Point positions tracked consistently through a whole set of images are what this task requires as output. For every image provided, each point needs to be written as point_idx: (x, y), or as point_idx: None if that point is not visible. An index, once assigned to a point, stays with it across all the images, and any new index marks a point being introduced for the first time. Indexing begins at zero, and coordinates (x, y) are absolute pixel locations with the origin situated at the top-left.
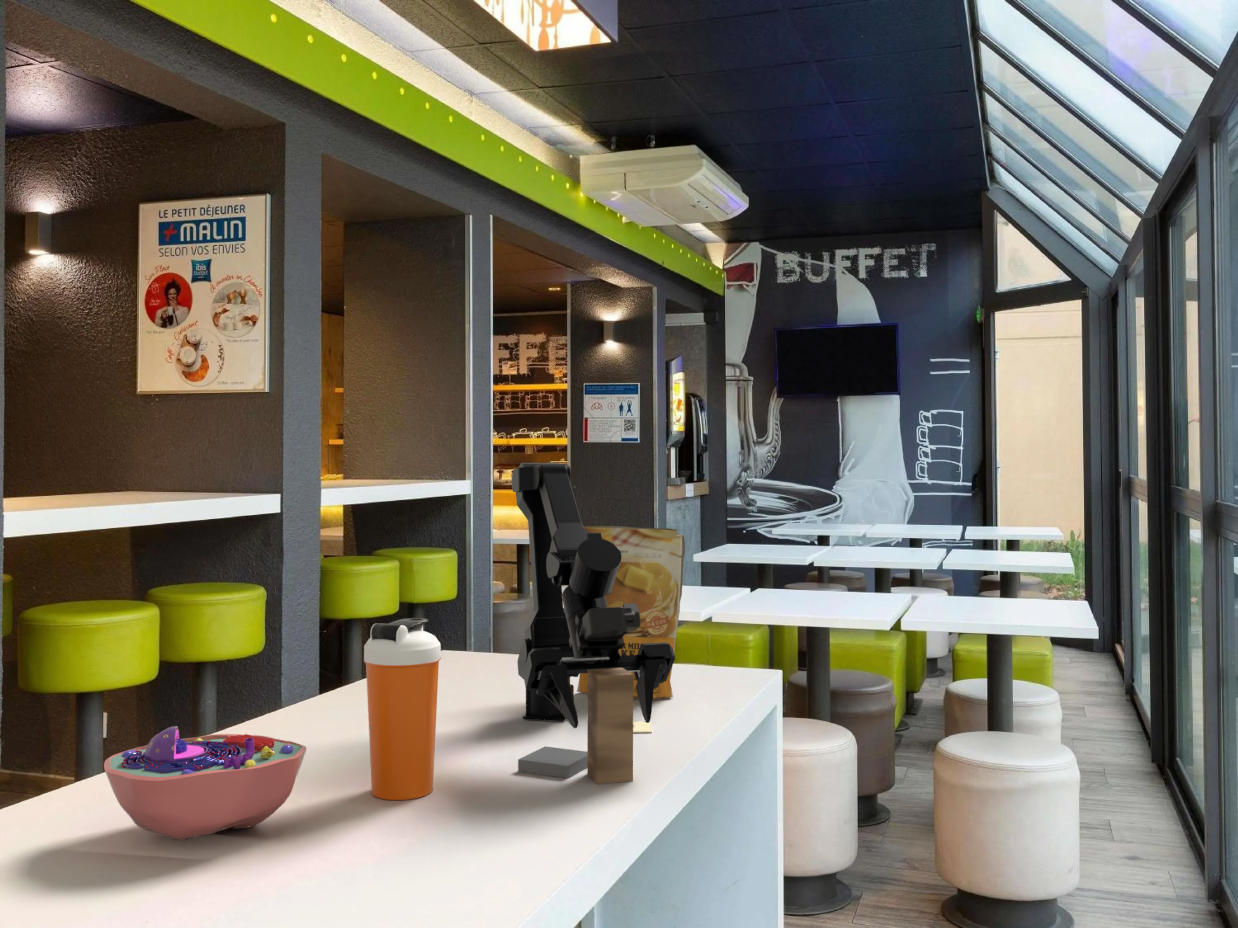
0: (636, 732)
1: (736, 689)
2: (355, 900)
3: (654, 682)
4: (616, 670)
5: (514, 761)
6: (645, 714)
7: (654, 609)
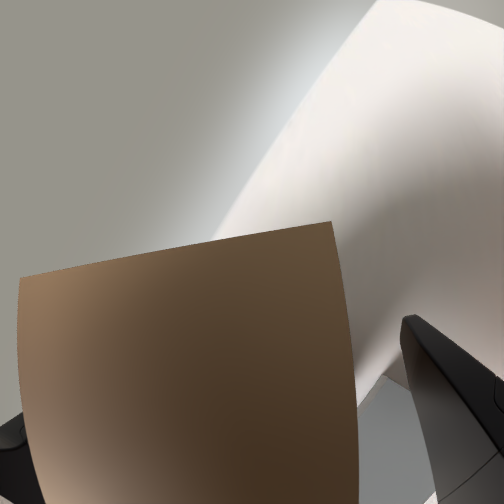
0: None
1: None
2: (495, 35)
3: (11, 421)
4: (84, 483)
5: None
6: None
7: None
